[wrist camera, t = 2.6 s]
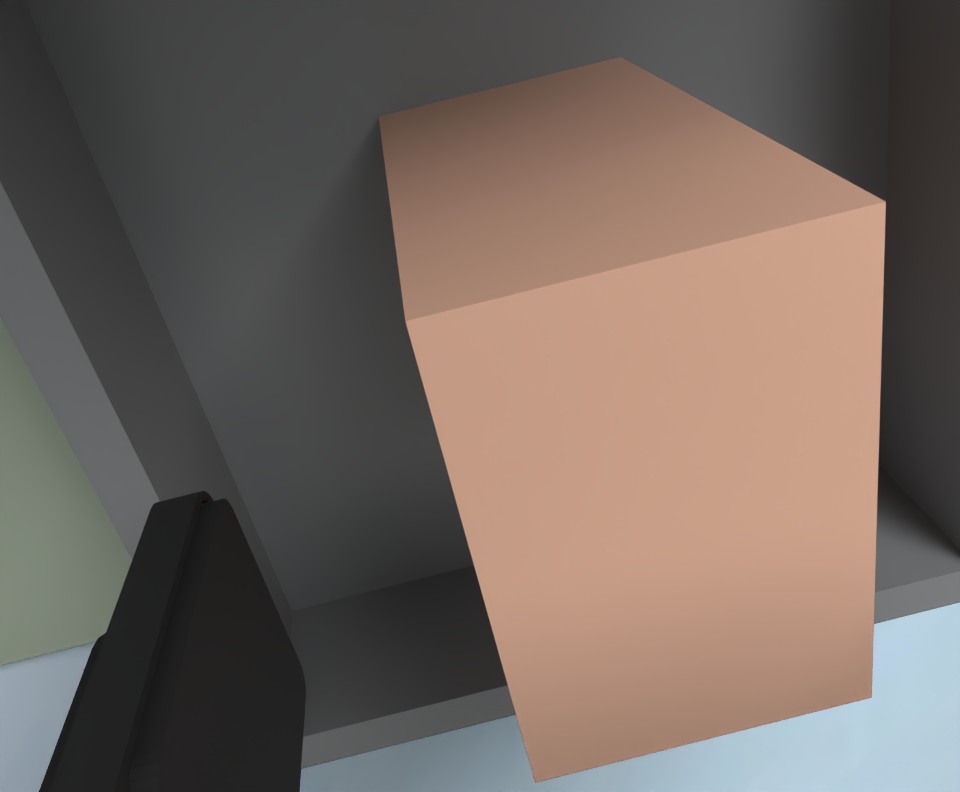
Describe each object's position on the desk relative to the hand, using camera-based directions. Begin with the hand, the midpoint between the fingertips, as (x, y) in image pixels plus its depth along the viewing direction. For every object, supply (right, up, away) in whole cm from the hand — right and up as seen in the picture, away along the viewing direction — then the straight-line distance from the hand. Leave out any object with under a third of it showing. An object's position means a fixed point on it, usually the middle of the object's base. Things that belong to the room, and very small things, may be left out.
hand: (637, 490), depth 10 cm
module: (-1, +4, +5) cm, 6 cm away
